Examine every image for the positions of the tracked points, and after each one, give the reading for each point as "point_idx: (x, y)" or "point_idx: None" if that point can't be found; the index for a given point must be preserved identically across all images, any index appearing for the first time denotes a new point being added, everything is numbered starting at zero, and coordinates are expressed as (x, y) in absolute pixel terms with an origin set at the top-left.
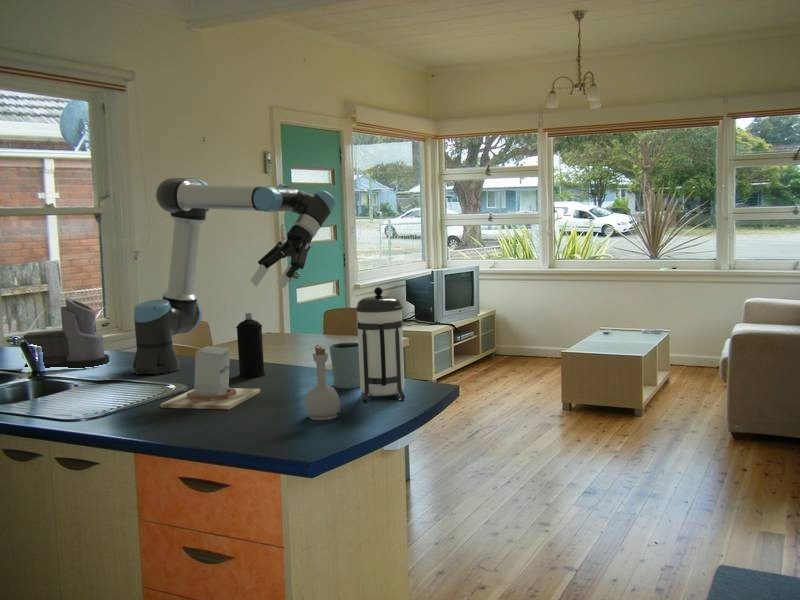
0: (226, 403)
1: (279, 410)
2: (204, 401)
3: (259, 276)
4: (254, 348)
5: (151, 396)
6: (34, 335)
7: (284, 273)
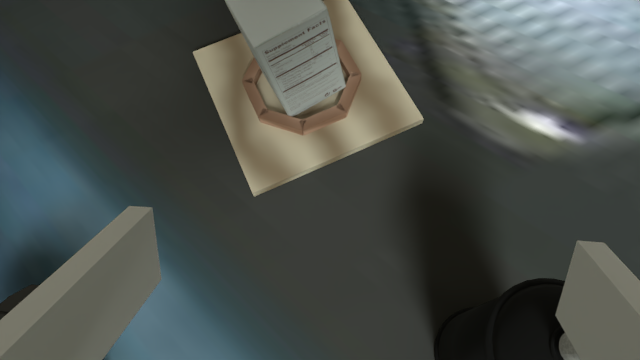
0: (211, 59)
1: (82, 103)
2: None
3: (609, 352)
4: (463, 331)
5: (466, 39)
6: None
7: (63, 264)
